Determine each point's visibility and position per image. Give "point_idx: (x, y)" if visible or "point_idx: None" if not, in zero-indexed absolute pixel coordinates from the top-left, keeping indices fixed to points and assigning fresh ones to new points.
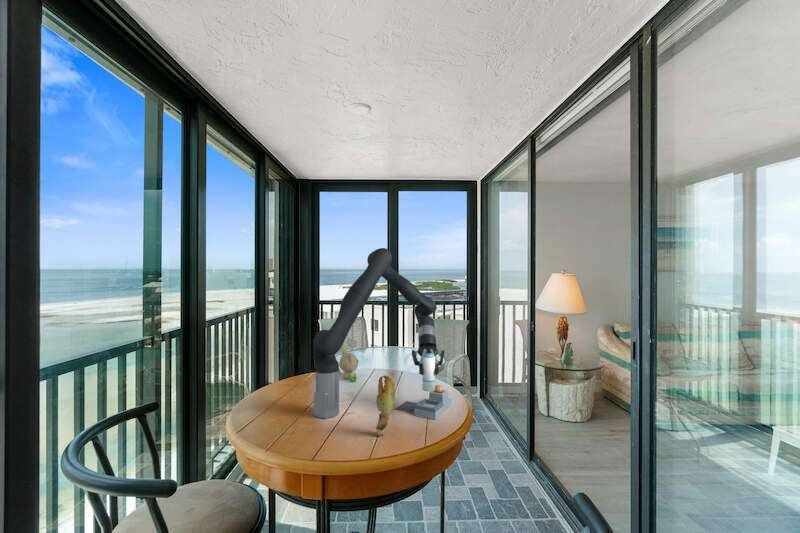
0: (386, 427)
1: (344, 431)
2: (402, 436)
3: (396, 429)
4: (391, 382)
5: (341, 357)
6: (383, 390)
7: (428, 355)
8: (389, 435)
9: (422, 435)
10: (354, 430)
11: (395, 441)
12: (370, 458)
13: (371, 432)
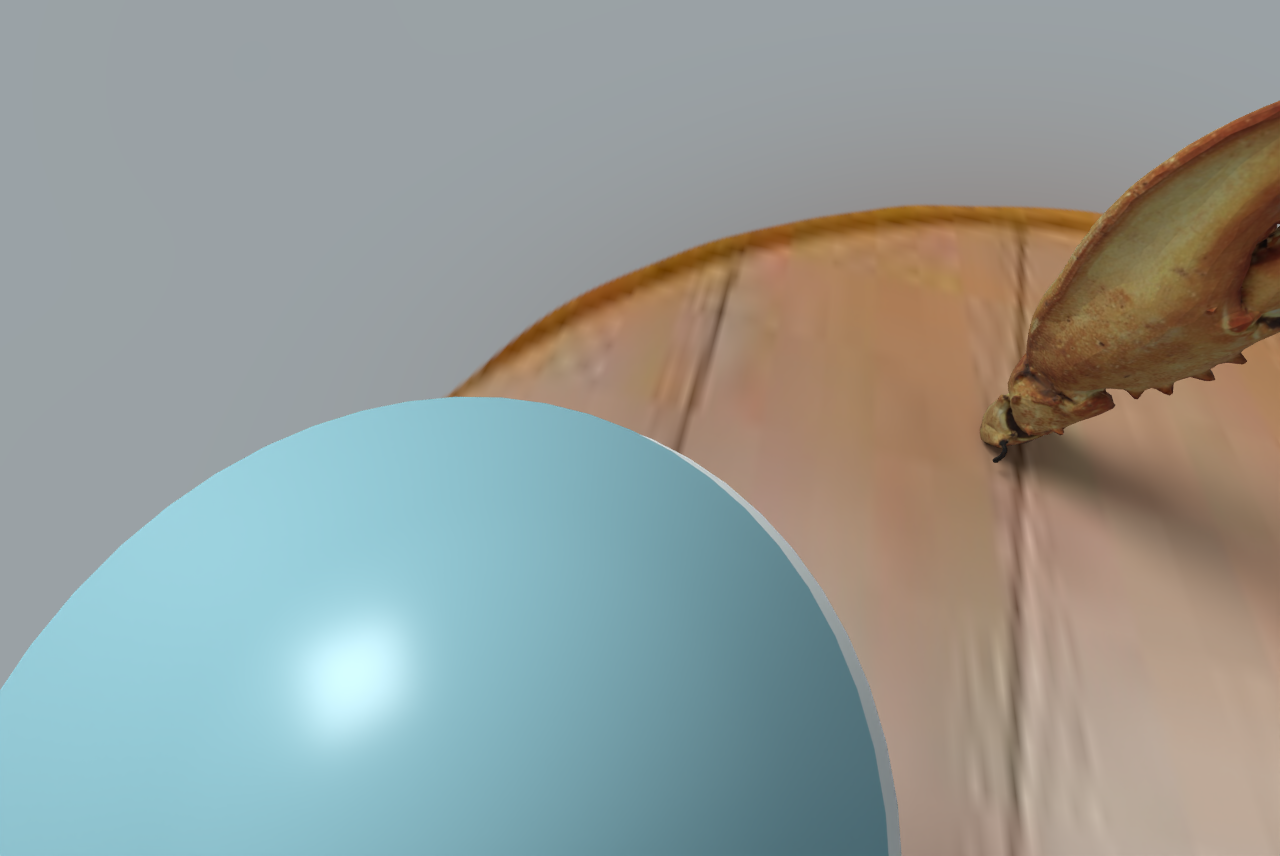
0: (993, 405)
1: (1273, 543)
2: (858, 384)
3: (899, 490)
4: (1273, 109)
5: None
6: (1277, 229)
7: (602, 429)
8: (944, 416)
9: (727, 367)
10: (1207, 543)
11: (902, 338)
12: (1016, 225)
13: (1074, 484)
